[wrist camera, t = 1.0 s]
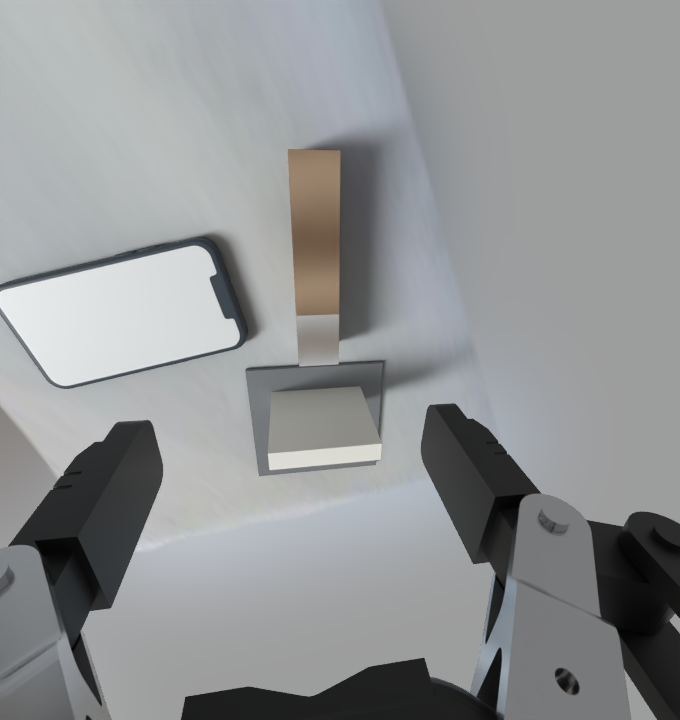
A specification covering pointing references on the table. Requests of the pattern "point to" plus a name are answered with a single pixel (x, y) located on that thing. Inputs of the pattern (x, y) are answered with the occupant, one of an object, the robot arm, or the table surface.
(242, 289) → the table surface
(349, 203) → the table surface
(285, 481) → the table surface
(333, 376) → the mat
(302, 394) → the tile
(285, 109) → the table surface
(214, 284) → the phone case
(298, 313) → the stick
